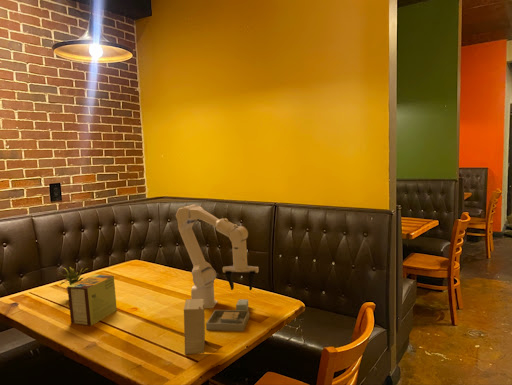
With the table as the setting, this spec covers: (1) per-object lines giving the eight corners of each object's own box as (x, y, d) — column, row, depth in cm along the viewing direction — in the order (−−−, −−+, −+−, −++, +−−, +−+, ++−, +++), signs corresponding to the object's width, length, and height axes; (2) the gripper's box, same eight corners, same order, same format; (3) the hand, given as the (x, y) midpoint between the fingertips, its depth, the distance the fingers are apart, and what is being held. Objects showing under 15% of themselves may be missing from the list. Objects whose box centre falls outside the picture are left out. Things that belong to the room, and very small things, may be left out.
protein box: (117, 310, 161) (114, 275, 160) (91, 326, 147) (87, 288, 145) (97, 308, 165) (94, 273, 163) (70, 323, 150) (66, 286, 148)
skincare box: (186, 342, 130) (183, 298, 129) (207, 340, 131) (204, 297, 129) (184, 355, 122) (181, 308, 120) (206, 353, 123) (203, 307, 121)
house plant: (49, 303, 172) (45, 269, 171) (73, 292, 185) (70, 260, 183) (72, 307, 167) (68, 271, 165) (95, 295, 180) (92, 262, 178)
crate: (206, 331, 138) (206, 323, 138) (215, 316, 150) (214, 309, 150) (243, 332, 136) (243, 324, 136) (249, 317, 148) (249, 310, 147)
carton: (236, 314, 152) (236, 305, 151) (239, 308, 158) (238, 299, 157) (246, 314, 151) (245, 305, 151) (248, 308, 157) (248, 299, 157)
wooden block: (220, 327, 139) (220, 318, 139) (224, 320, 145) (224, 311, 145) (236, 328, 138) (236, 319, 138) (240, 320, 144) (239, 312, 144)
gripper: (220, 259, 149) (221, 292, 151) (255, 259, 147) (257, 293, 148) (224, 254, 156) (226, 286, 157) (258, 254, 154) (260, 286, 155)
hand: (241, 289), depth 153 cm, fingers open, 7 cm apart
